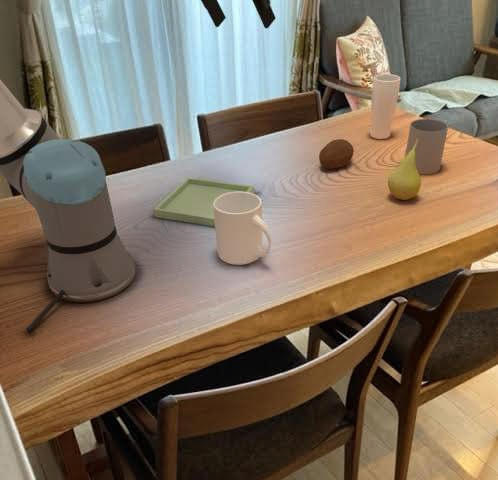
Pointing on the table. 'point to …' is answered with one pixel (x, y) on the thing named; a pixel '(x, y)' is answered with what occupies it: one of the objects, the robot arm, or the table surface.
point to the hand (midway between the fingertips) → (244, 23)
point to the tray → (196, 200)
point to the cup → (427, 144)
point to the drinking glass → (383, 104)
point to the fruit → (405, 178)
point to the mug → (239, 228)
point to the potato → (336, 154)
